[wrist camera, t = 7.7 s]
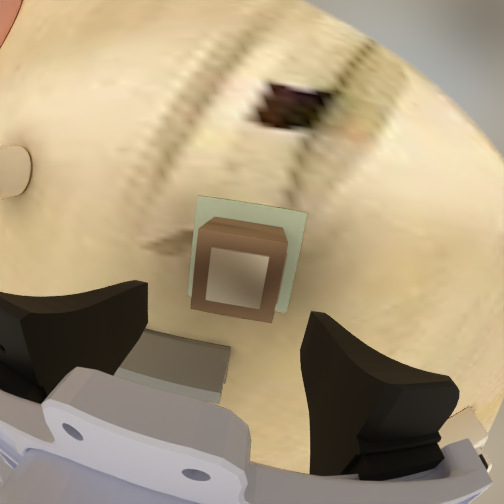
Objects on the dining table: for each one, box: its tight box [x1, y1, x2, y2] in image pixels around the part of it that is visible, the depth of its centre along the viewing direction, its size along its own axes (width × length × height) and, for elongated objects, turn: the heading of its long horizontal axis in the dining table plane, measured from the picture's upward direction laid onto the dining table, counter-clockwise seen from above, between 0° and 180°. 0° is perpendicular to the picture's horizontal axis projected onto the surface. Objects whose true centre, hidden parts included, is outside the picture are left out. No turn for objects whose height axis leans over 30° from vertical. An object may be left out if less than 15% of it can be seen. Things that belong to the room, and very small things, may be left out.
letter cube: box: [191, 217, 288, 323], centre depth 18 cm, size 5×5×5 cm
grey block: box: [114, 329, 231, 404], centre depth 21 cm, size 4×14×6 cm, turn 81°
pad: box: [188, 196, 307, 313], centre depth 21 cm, size 8×8×1 cm
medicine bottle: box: [437, 407, 492, 473], centre depth 21 cm, size 7×7×12 cm
